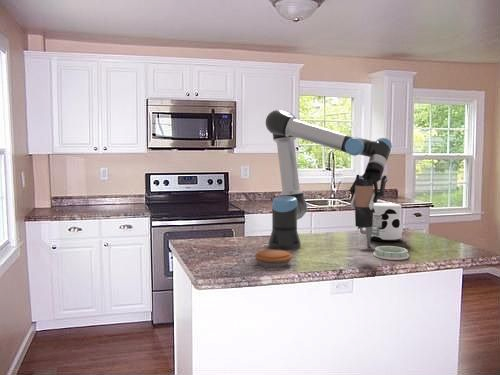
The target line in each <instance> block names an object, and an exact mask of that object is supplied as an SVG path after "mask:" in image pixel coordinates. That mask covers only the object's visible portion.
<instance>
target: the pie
mask: <svg viewBox="0 0 500 375" xmlns="http://www.w3.org/2000/svg"><path fill="white" fill-rule="evenodd" d="M293 256H294V255H293V253H291V252H288V250H279V249H264V250H260V251H258V252H257V253H255V254H254V257H255V259H257V261H258V263H259V265H260V266H263V267H266V268H283V267H286V266H287V265H288V264H289V263H290V261H291V259H292V258H293Z"/></svg>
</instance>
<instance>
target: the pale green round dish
mask: <svg viewBox="0 0 500 375" xmlns="http://www.w3.org/2000/svg"><path fill="white" fill-rule="evenodd" d="M372 255H373V257H375V258H379V259H382V260H392V261H402V260H407V259H409V258H410V254H409V251H408V249H406V248H405V247H401V246H394V245H379V246H376V247H375V248H374V251H373V253H372Z"/></svg>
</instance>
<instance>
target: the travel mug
mask: <svg viewBox="0 0 500 375" xmlns="http://www.w3.org/2000/svg"><path fill="white" fill-rule="evenodd" d="M354 181H355V206H354V217H355V218H354V220H355V221H354V222H355V227H356V228H358V227H372V225H373V209H372V210H370V208H369V203H370V200H371V198H372V195H373V194H374V184H373V179H357V180H356V179H354Z"/></svg>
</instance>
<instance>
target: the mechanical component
mask: <svg viewBox="0 0 500 375" xmlns="http://www.w3.org/2000/svg"><path fill="white" fill-rule="evenodd" d="M380 229H381V227H379V226H377V228H376V229H373V228H372V227H357V230H359V232H360V233H361V234H362V235H366V237H365V238H366V239H367V240H366V246H367V248H370V247H371V245H372V244H371V240H372V239H371V237H372V234H378V233H379V230H380ZM372 231H377V232H376V233H374V232H372Z"/></svg>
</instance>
